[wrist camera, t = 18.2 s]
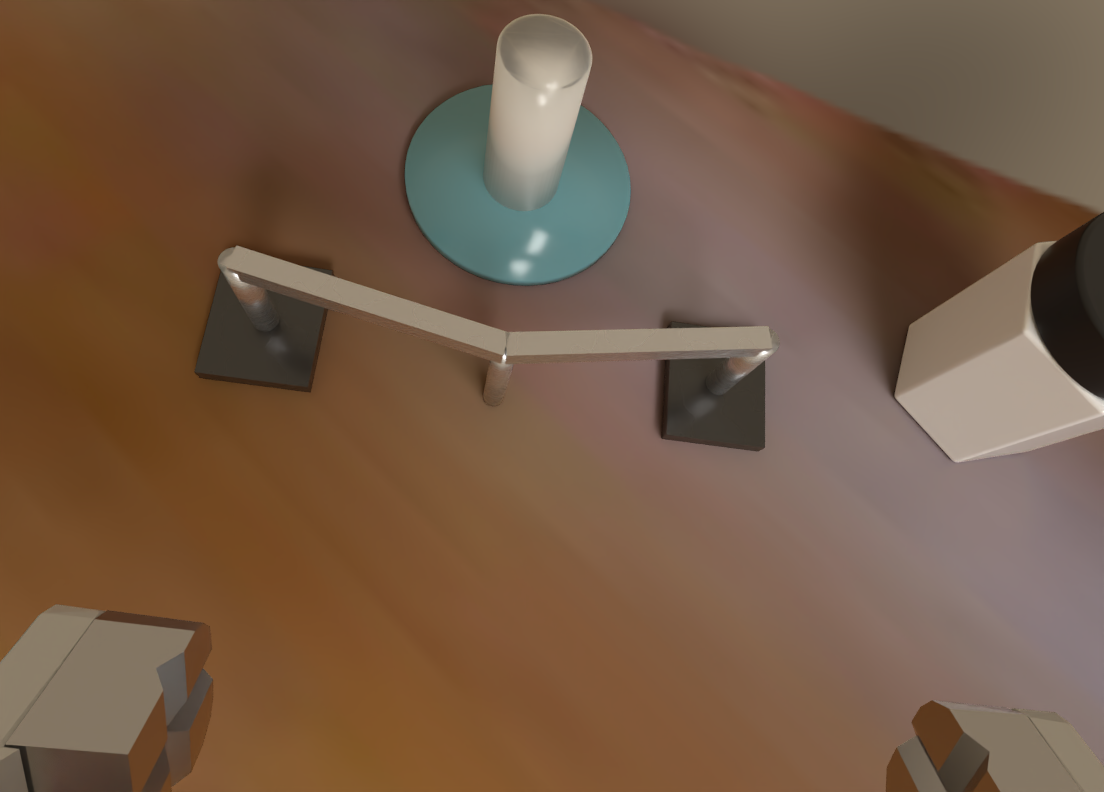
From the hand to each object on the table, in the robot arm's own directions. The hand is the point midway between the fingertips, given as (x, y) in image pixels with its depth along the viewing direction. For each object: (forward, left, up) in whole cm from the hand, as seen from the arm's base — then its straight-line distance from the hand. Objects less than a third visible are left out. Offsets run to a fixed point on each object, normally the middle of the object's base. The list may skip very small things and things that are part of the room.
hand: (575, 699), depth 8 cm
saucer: (-10, -22, -25) cm, 35 cm away
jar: (-29, -3, -26) cm, 39 cm away
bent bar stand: (-6, -12, -25) cm, 29 cm away
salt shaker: (-10, -22, -25) cm, 34 cm away
